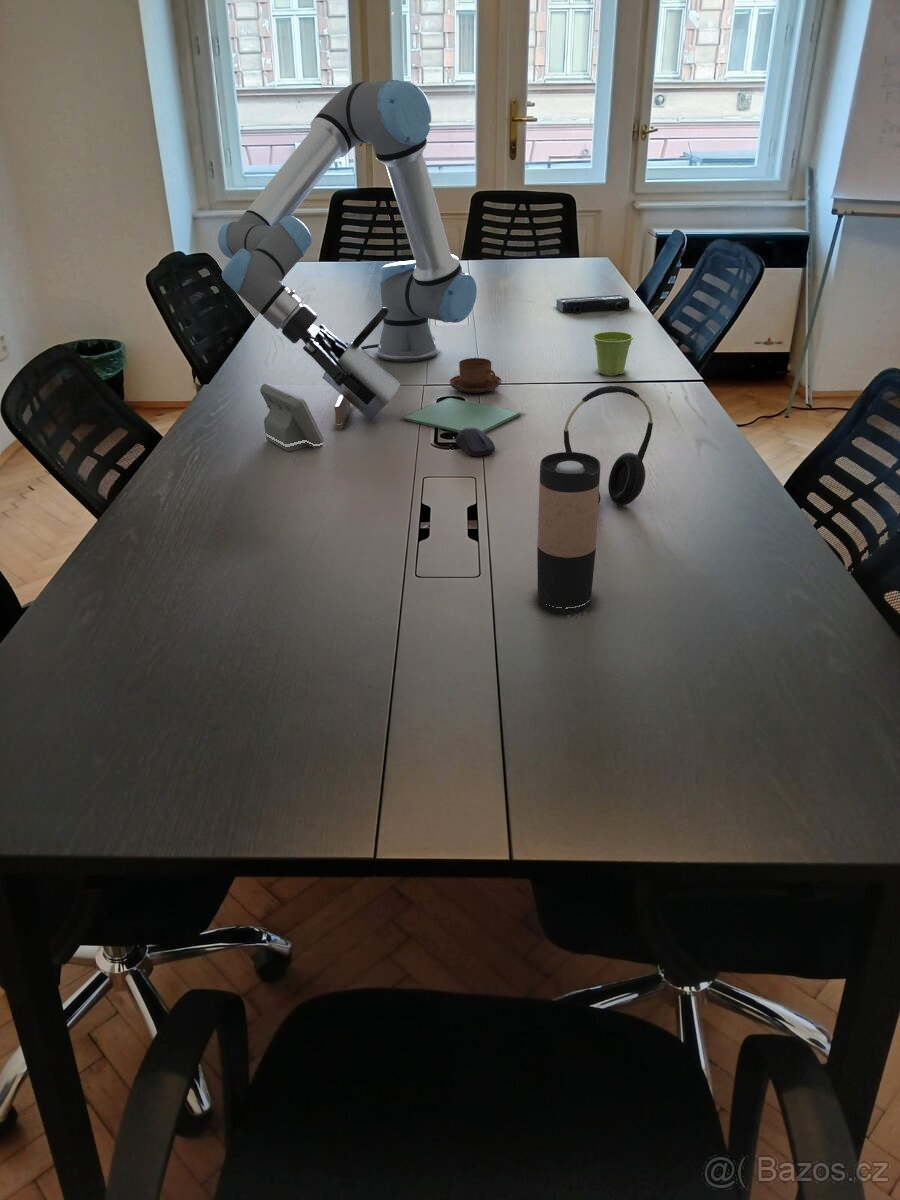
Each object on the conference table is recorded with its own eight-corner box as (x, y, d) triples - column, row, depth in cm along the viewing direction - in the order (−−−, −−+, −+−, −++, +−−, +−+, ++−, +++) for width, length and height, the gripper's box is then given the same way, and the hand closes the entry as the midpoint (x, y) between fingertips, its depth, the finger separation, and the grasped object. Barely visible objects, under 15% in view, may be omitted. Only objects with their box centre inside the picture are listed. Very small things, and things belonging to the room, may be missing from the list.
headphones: (655, 510, 144) (667, 389, 134) (568, 520, 142) (574, 398, 132) (636, 490, 151) (645, 374, 141) (553, 499, 149) (557, 382, 139)
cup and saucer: (509, 384, 207) (509, 357, 203) (489, 399, 197) (489, 371, 194) (462, 379, 211) (462, 353, 208) (441, 393, 202) (440, 366, 199)
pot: (323, 426, 184) (310, 314, 173) (330, 411, 193) (319, 303, 181) (400, 425, 184) (392, 312, 172) (404, 409, 192) (397, 301, 181)
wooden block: (336, 429, 182) (334, 406, 180) (346, 408, 195) (344, 385, 192) (341, 429, 182) (339, 406, 180) (350, 408, 194) (348, 385, 192)
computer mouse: (473, 459, 165) (473, 439, 163) (450, 445, 173) (450, 425, 171) (499, 454, 168) (499, 434, 166) (475, 439, 175) (475, 420, 173)
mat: (403, 419, 186) (403, 417, 186) (449, 400, 197) (449, 397, 197) (476, 436, 176) (476, 433, 176) (520, 414, 187) (520, 412, 187)
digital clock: (327, 450, 172) (322, 396, 167) (282, 458, 169) (275, 404, 163) (302, 426, 185) (296, 375, 179) (260, 433, 182) (252, 382, 176)
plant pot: (630, 378, 208) (632, 341, 203) (589, 377, 209) (591, 340, 205) (631, 367, 215) (633, 331, 211) (592, 366, 217) (594, 331, 213)
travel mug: (531, 589, 123) (534, 453, 112) (585, 585, 123) (593, 449, 113) (541, 617, 116) (545, 475, 106) (598, 613, 116) (607, 472, 106)
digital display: (565, 303, 266) (556, 297, 274) (564, 314, 267) (555, 308, 276) (632, 298, 268) (621, 293, 277) (631, 309, 270) (620, 303, 279)
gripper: (292, 315, 167) (380, 395, 174) (312, 291, 186) (391, 364, 194) (268, 344, 170) (355, 422, 177) (291, 317, 189) (369, 388, 197)
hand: (374, 392), depth 185 cm, fingers closed on pot, 10 cm apart
